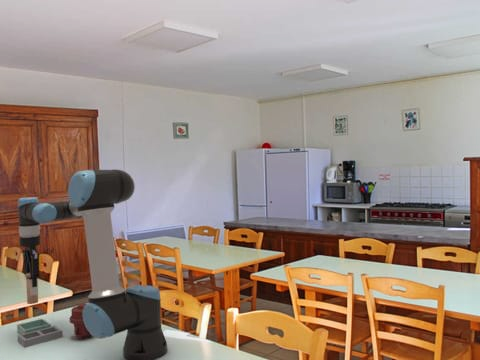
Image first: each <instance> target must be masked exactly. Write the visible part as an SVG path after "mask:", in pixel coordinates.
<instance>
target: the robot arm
mask: <svg viewBox="0 0 480 360" xmlns="http://www.w3.org/2000/svg"><path fill="white" fill-rule="evenodd" d="M134 193H135V181H134V179H133V177H132V176H131V175H130V174H129V172H126V171H124V170H121V169H85V170H79V171H77V172H76V173H74V174H73V175H72V177H71V179H70V181H69V183H68V189H67V197H68V200H64V201H53V202H51V201H50V202H40V201H39V198H38V197H35V196H33V197H30V196H29V197H20V198H18V200H17V201H18V202H17V205H18V206H17V212H18V234H19V235H18V236H20V237H19V246H20V247H21V248H24V250H23V249H22V250H21V253H22V260H23V262H22V263H23V274H24V276H25V277H26V273H28V272H30V276H31V278H29V280H30V295H31V296H32V295H37V294H38V295H39V281H38V278H40V277H41V276H40V253H39V252H38V250H37V246H40V245H41V232H40V231H41V229H42V227H41V226H40V225H41V224H50V223H52V222H58V221H66V220H74V219H75V220H79V219H82V218H83V223H84V233H85V241H86V242H85V243H86V247H87V248H86V249H87V257H88V264H89V272H90V273H89V274H90V281H91V282H90V283H91V292H90V294H89V295H88V296H87V297H88V303H86V304H87V305H85V306H84V308H83V313H82V315H83V321H84V324H85V326H86V328H87V330H88V331H89V332H90V334H91V335H92V336H91V337H93V338H95V339H105V338H108V337H109V338H111V337H112V336H114V335H117V334H119V333H123V332H126V331H127V333H126V337H125V339H124V340H125V341H124V344H123V347H122V355H123V358H124V359H126V360H156V359H157V358H158V359H159V358H160V357H163V356H164V355H165V354H166V353H168V343H167V339H166V337H165V334H164V331H163V328H162V311H161V310H162V305H161V303H162V302H161V300H162V299H161V293H160V289H159V288H158V287H156V286H153V285H141V284H139V285H138V284H137V285H129V286H126V288H123V287H122V286H121V285H120V279H119V269H118V264H117V263H118V262H117V254H116V253H117V252H116V248H115V238H114V230H113V223H112V215H111V214H112V212H113V211H114V210H115V205H117V204H121V203H123V202H125V201H127V200H130V199H131V198H132V196H133V194H134ZM25 285H26V288H25V289H27V284H26V283H25Z"/></svg>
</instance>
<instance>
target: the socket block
mask: <svg viewBox="0 0 480 360" xmlns="http://www.w3.org/2000/svg"><path fill="white" fill-rule="evenodd" d="M61 338H64V335H63V330H62V329H61V328H59V327H58V326H56V325H51V327H48V328H44V329H40V330H36V331H32V332H28V333H24V334H21V335H20V334H18V335H17V342H18V343H19V344H20V345H21V346H22V347H23V348H27V347H32V346H35V345H39V344H42V343H46V342H49V341H52V340H54V341H55V340H57V339H61Z"/></svg>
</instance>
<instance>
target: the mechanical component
mask: <svg viewBox="0 0 480 360" xmlns="http://www.w3.org/2000/svg"><path fill="white" fill-rule="evenodd" d="M87 304H88V303H81V304H78V305H76V306H74V307H72V308H71V316H69V318H68V319H69V323H71V324H73V326H74V328H73V329H74V330H73V334H74V335H75V336H76V337H77V339H78V340H79V341H80V340H81V341H82V340H83V339H86V338H89V337H93V336H92V335H91V334H90V332H89V331H88V330H87V328H86V326H85V324H84V321H83V315H82V313H83V308H84V306H85V305H87Z"/></svg>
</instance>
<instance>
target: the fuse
mask: <svg viewBox="0 0 480 360" xmlns="http://www.w3.org/2000/svg"><path fill="white" fill-rule="evenodd" d="M29 278H31V276H30V272H28V273H26V276H25V282H26V283H25V285H26V284H27V288H26V298H27V299H26V301H27V302H26V304H27V305H34V304H38V302H39V293H38V294H37V295H32V296H31V295H30V280H29Z"/></svg>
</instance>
